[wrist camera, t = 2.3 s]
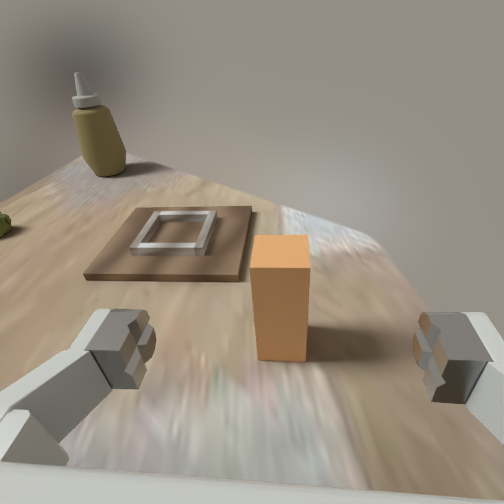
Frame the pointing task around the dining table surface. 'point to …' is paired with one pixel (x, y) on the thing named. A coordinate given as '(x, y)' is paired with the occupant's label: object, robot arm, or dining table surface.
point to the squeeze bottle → (97, 132)
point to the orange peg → (280, 296)
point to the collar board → (176, 245)
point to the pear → (4, 224)
